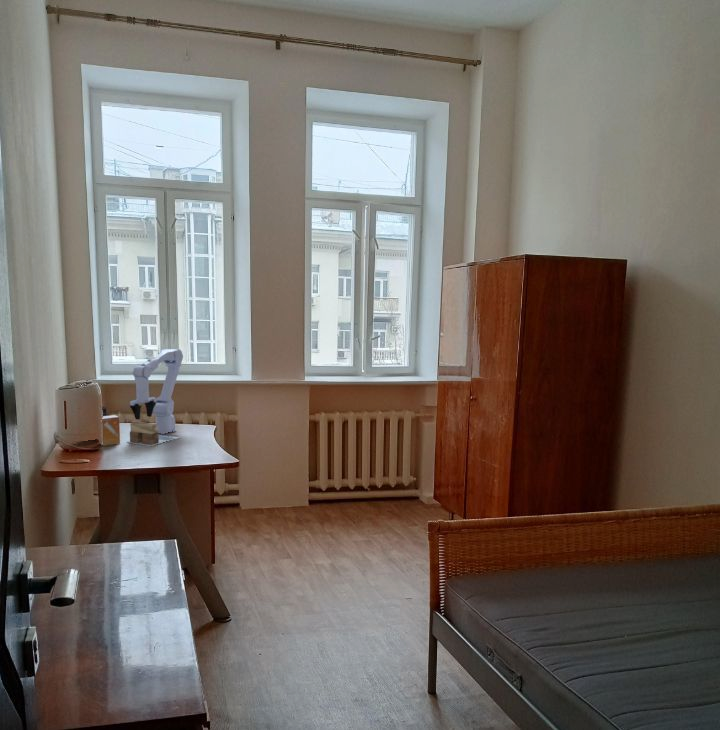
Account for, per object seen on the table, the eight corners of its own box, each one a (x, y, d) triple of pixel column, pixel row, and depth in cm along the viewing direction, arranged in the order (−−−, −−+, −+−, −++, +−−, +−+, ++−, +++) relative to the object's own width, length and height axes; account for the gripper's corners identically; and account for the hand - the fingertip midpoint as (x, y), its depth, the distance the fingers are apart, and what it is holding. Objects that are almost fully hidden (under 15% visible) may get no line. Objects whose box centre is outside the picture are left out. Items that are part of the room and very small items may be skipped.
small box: (102, 446, 262) (101, 418, 261) (98, 444, 267) (96, 416, 265) (120, 443, 268) (119, 416, 266) (115, 441, 272) (114, 414, 271)
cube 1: (138, 439, 274) (137, 429, 273) (145, 440, 272) (145, 430, 271) (130, 441, 269) (129, 431, 269) (137, 442, 267) (137, 432, 266)
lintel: (137, 429, 273) (136, 421, 272) (157, 432, 267) (157, 423, 267) (130, 431, 269) (130, 423, 269) (151, 433, 264) (151, 425, 263)
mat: (154, 435, 286) (154, 434, 286) (179, 438, 279) (179, 437, 279) (127, 442, 269) (126, 441, 269) (152, 446, 263) (152, 445, 263)
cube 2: (150, 441, 270) (150, 431, 270) (158, 442, 268) (158, 431, 268) (142, 443, 266) (142, 433, 265) (150, 444, 264) (150, 434, 263)
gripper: (137, 392, 267) (138, 421, 268) (159, 389, 280) (160, 416, 282) (126, 391, 270) (127, 419, 271) (148, 388, 283) (149, 415, 285)
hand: (143, 417), depth 277 cm, fingers open, 7 cm apart
